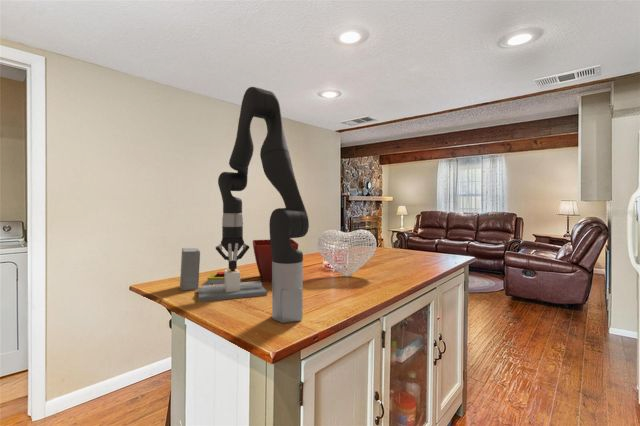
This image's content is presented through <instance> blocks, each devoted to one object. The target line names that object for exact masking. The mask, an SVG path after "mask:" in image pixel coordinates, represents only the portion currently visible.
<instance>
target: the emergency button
mask: <svg viewBox="0 0 640 426" xmlns="http://www.w3.org/2000/svg"><path fill="white" fill-rule="evenodd" d="M206 279H207V280H206V281H204V283H203V285H212V284H214V285H215V284H224V283H225V271H219V272H217V273H211V274H210V275H208V277H207V278H206ZM240 282H243V278H240Z"/></svg>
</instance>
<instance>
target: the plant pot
mask: <svg viewBox="0 0 640 426" xmlns="http://www.w3.org/2000/svg"><path fill="white" fill-rule="evenodd" d="M290 242H291V246H292V247H293V248H294V249H297V250H299V243H298V242H296V241H295V240H293V238H290ZM252 246H253V253H254V256H255V257H254V258H255V263H256V266H257V267H256V268H257V271H258V273H259V277H260V282H261V283H262V282H264V283H265V282H272V253H271V248H270V239H253V240H252Z"/></svg>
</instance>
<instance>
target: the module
mask: <svg viewBox="0 0 640 426" xmlns="http://www.w3.org/2000/svg"><path fill="white" fill-rule="evenodd" d="M224 272H225V283H224V284H225V285H226V292H235V291H240V279H241V271H240V270H239V269H238V268H236V269H235V271H231V270H230V269H224Z"/></svg>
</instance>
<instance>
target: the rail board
mask: <svg viewBox="0 0 640 426" xmlns="http://www.w3.org/2000/svg"><path fill="white" fill-rule="evenodd" d="M197 293H198V303H199V302H200V303H201V302H202V303H203V302H211V301H212V302H213V301H220V300H221V301H222V300H232V299H242V298H254V297H261V296H268V291H267V289H265V287H264V286H263V285H262V288H257V289H246V290H240V291H235V292H226V291H223V292H212V293H201V286H200V287H198V289H197Z"/></svg>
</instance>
